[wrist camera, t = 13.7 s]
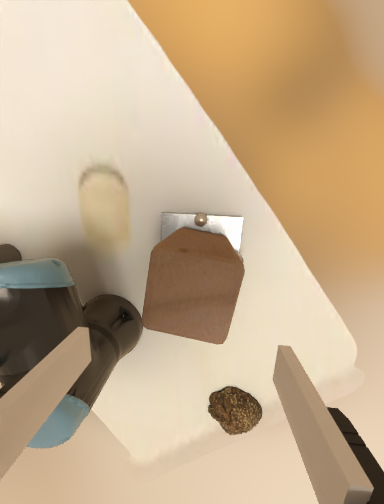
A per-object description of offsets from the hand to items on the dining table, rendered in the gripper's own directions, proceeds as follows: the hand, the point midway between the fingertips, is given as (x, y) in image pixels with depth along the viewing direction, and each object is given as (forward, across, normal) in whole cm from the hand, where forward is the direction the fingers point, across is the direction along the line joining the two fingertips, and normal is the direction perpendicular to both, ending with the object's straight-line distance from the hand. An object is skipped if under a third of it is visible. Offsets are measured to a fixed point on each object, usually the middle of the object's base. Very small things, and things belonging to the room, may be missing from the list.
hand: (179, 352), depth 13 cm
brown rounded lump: (+29, +11, -40) cm, 50 cm away
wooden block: (+27, 0, 0) cm, 27 cm away
